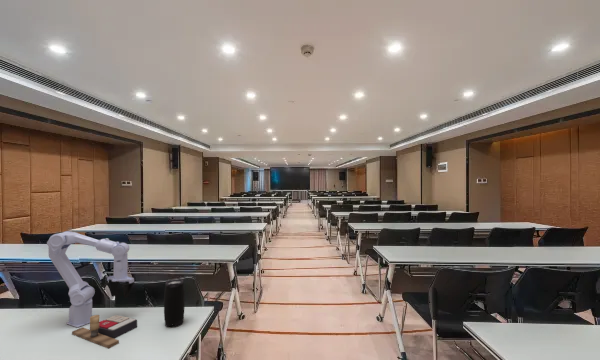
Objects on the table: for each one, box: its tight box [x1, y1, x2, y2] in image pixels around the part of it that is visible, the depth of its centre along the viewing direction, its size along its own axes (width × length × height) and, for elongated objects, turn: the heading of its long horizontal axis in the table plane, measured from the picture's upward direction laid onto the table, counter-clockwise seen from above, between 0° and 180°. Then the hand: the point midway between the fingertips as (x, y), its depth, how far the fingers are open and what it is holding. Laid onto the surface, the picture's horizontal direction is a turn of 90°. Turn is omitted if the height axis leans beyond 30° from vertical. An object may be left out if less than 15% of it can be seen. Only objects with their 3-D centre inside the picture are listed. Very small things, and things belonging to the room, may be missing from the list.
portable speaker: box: [163, 278, 186, 328], centre depth 128 cm, size 9×9×20 cm
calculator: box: [98, 314, 138, 339], centre depth 123 cm, size 11×4×15 cm
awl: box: [89, 314, 100, 337], centre depth 115 cm, size 3×3×8 cm
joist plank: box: [71, 326, 120, 349], centre depth 115 cm, size 26×4×1 cm, turn 65°
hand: (120, 296), depth 134 cm, fingers open, 7 cm apart
